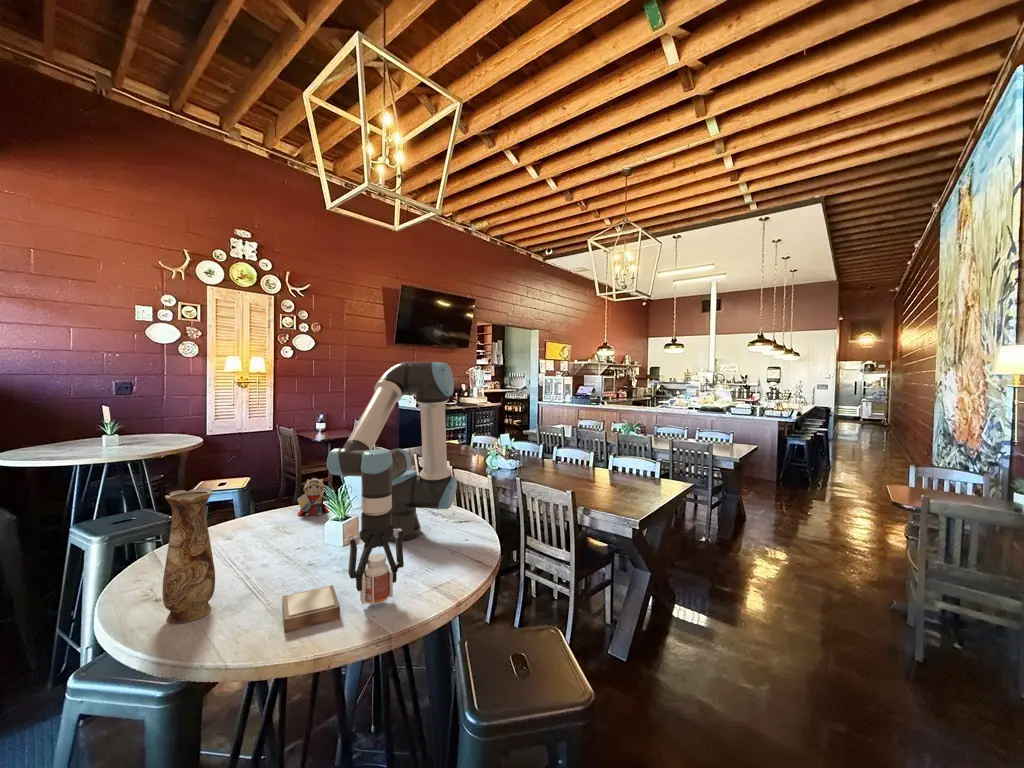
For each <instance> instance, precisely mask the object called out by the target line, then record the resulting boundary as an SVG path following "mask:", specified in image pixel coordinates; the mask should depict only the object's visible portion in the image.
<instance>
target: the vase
mask: <svg viewBox="0 0 1024 768" xmlns="http://www.w3.org/2000/svg"><path fill="white" fill-rule="evenodd" d="M212 494H213V489H212V488H210V487H205V488H204V487H203V488H200V489H198V490H196V489H193V488H192V489H190V490H188V491H187V490H185V489H182V490H181V489H180V490H179V489H178V490H174V491H171V492H169V495H167V494H166V495H165V496H164V498H165V500H166V501H167V502H168V504H169V505H170V508H171V513H172V514H171V515H172V516H171V524H170V533H169V539H168V546H167V553H166V559H165V565H164V572H163V576H162V577H163V579H162V589H161V590H162V591H161V593H162V601H163V605H164V608H165V609H166V610H168V611H169V614H168V615H167V618H166V621H167V622H168V623H169V624H184V623H188V622H192V621H196V620H198V619H200V618H203V617H204V616H206V615H208V614H209V613H210V612H211V611H212V606H211V604H210V603H209V601H210V600H211V599H212V598H213V595H214V593H215V587H216V570H215V564H214V563H215V562H214V557H213V550H212V544H211V539H210V534H209V533H210V532H209V527H208V519H207V508H206V506H207V503H208V501H209V499H210V497H211V495H212Z"/></svg>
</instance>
